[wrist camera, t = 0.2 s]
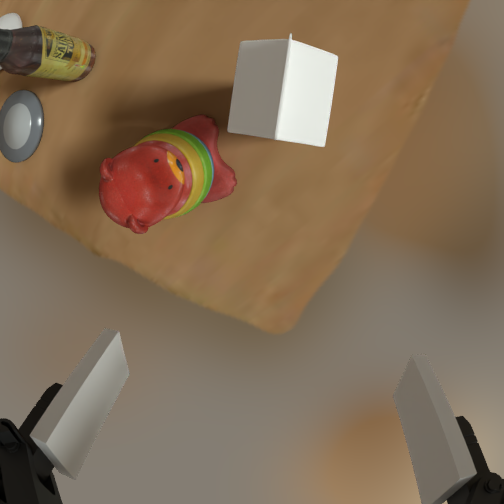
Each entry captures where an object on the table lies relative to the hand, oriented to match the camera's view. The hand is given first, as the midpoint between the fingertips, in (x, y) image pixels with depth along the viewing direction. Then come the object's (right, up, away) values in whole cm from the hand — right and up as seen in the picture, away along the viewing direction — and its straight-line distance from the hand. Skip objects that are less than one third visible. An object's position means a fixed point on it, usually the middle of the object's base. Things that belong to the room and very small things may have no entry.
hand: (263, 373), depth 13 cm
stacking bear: (-8, +16, +25) cm, 31 cm away
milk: (+3, +22, +21) cm, 31 cm away
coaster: (-38, +25, +23) cm, 51 cm away
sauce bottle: (-25, +32, +20) cm, 45 cm away
